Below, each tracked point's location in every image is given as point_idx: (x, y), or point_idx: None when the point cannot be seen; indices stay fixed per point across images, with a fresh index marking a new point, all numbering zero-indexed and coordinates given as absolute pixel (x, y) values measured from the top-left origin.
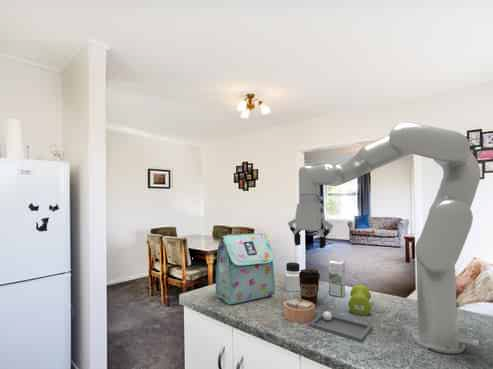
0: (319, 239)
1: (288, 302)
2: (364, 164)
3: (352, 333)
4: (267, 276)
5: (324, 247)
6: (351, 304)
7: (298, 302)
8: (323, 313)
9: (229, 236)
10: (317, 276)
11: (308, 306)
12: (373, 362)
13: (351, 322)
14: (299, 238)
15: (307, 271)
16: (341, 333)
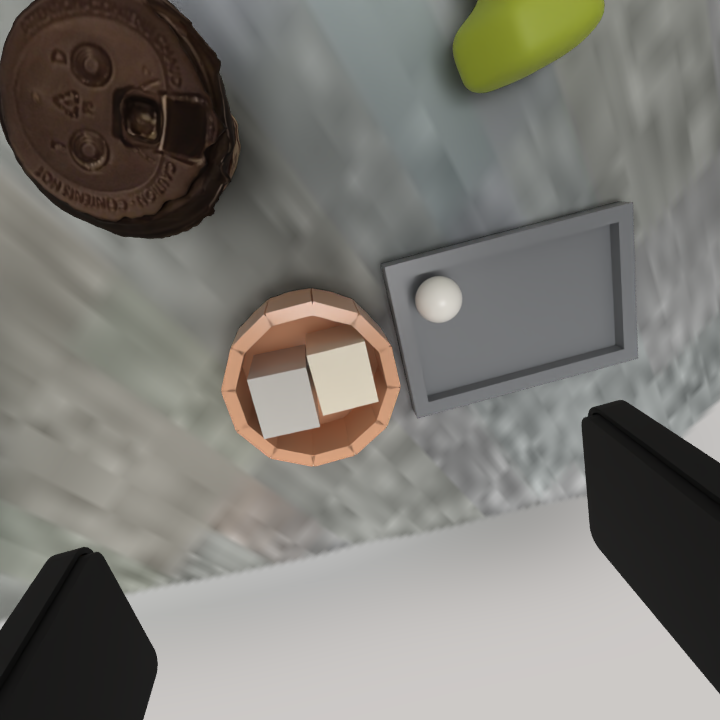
0: (709, 677)
1: (269, 432)
2: None
3: (574, 317)
4: None
5: (614, 408)
6: (494, 88)
7: (304, 389)
8: (428, 317)
9: None
10: (226, 112)
11: (373, 379)
12: (686, 421)
13: (540, 241)
14: (51, 705)
15: (114, 151)
16: (558, 378)
